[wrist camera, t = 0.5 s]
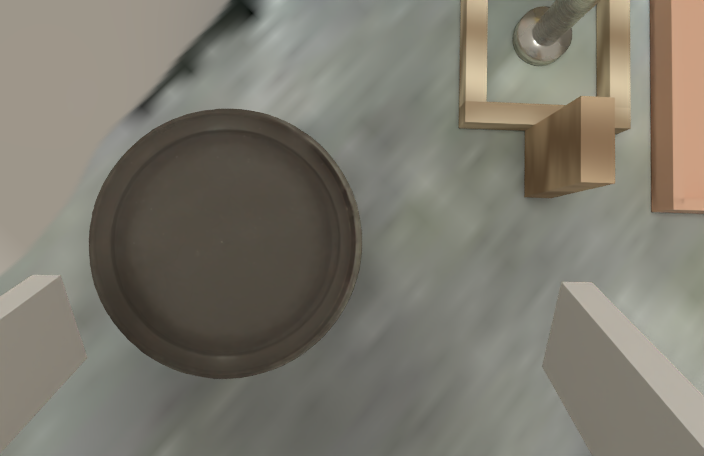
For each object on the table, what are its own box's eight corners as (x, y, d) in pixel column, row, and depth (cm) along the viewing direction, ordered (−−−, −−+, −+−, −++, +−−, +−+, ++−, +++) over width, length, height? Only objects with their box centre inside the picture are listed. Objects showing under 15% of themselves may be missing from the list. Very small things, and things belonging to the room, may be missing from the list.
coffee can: (271, 346, 29) (211, 438, 15) (176, 237, 29) (28, 228, 15) (379, 250, 30) (417, 253, 16) (285, 144, 30) (240, 52, 16)
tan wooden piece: (616, 200, 31) (699, 186, 24) (457, 195, 30) (494, 179, 23) (615, -20, 31) (695, -97, 24) (461, -29, 31) (497, -109, 24)
